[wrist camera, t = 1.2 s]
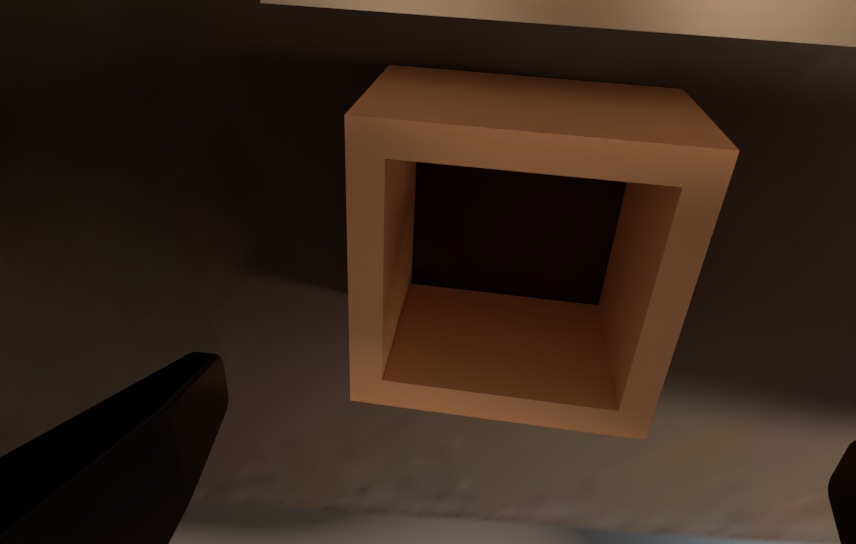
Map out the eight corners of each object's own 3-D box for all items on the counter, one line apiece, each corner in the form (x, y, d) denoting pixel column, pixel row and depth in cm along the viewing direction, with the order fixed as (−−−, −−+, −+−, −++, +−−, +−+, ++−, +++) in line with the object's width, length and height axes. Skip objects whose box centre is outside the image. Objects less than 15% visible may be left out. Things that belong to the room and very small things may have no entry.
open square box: (683, 88, 13) (739, 150, 10) (619, 330, 16) (645, 440, 13) (389, 64, 14) (344, 114, 10) (385, 302, 17) (350, 400, 13)
